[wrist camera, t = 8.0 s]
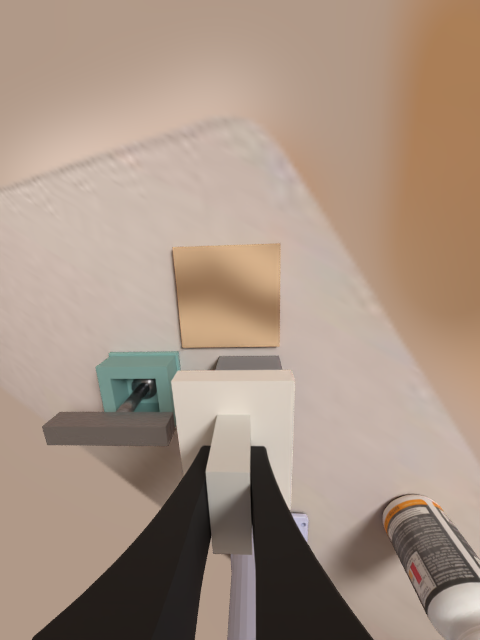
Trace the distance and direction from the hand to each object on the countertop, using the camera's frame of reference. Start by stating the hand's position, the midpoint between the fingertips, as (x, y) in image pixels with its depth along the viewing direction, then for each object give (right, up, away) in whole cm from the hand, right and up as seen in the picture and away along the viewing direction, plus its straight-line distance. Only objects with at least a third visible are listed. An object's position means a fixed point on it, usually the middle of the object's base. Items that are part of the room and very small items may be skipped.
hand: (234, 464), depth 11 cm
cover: (0, 0, +2) cm, 2 cm away
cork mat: (-1, +8, +9) cm, 12 cm away
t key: (-8, +1, +11) cm, 13 cm away
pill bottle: (+17, -13, +14) cm, 25 cm away
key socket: (-8, +1, +11) cm, 14 cm away
